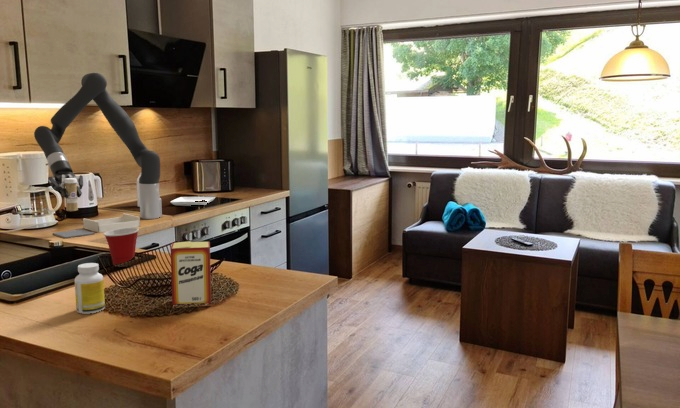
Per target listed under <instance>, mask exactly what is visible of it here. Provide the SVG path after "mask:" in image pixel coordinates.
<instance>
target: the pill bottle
mask: <svg viewBox="0 0 680 408" xmlns="http://www.w3.org/2000/svg"><path fill="white" fill-rule="evenodd" d="M99 266H100V265H99V263H98V262H97V263H96V262H86V263H81V264H78V266H77V272H78V273H79V274H77V275H76V276H75V278H74V292H75V293H74V294H75V307H76V312H77V313H79V314H81V313H82V315H89V314H90V313H92V314H97V313H100V312H102V311H103V310H104V309H105V308H106V303H105V301H106V300H105V285H104V284H105V283H104V281H105V280H104V276H103V274H102V273H99V270H100V267H99ZM101 310H102V311H101ZM99 311H100V312H99ZM96 312H97V313H96ZM90 315H91V314H90Z"/></svg>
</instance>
